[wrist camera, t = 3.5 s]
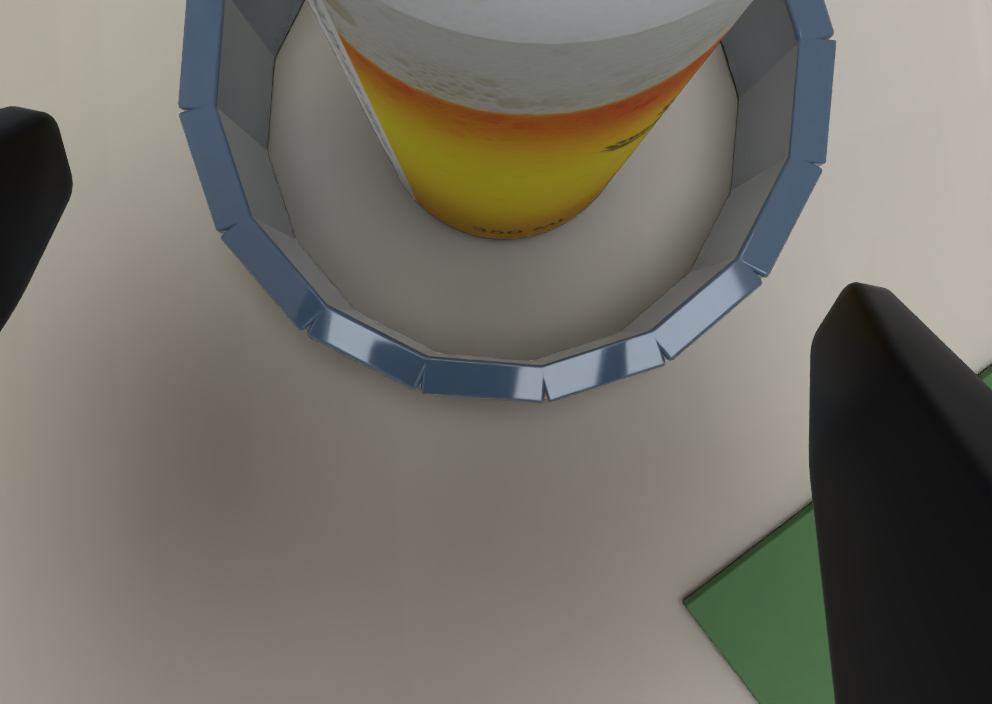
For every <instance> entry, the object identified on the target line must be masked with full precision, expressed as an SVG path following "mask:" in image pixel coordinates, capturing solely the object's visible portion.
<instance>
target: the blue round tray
mask: <svg viewBox="0 0 992 704" xmlns="http://www.w3.org/2000/svg"><path fill="white" fill-rule="evenodd" d="M303 1H304V0H186V12H185V25H184V38H183V51H182V64H181V77H180V90H179V103H178V105H179V108H180V109H182V110H183V111H184V112H182V113H180V114H179V117H180V120H181V124H182V127H183V130H184V133H185V136H186V139H187V142H188V145H189V148H190V151H191V154H192V157H193V160H194V163H195V166H196V169H197V173H198V176H199V179H200V182H201V185H202V188H203V191H204V194H205V197H206V200H207V203H208V206H209V209H210V212H211V215H212V218H213V221H214V225H215V228H216V230H217V231H218V232H220V233H222V234H223V235H222V236H221V239H222V241H223V242H224V243H225V244H226V245H227V246H228V248H229V249H230V250H231V251H232V252H233V254H234V255H235V256H236V257H237V258H238V259H239V261H240V262H241V263H242V264H243V265H244V266H245V268H246V269H247V270H248V271H249V272H250V273H251V275H252V276H253V277H254V278H255V279H256V280H257V282H258V283H259V284H260V285H261V286H262V287H263V289H264V290H265V291H266V292H267V293H268V294H269V296H270V297H271V298H272V299H273V300H274V301H275V303H276V304H277V305H278V306H279V307H280V309H281V310H282V311H283V312H284V313H285V314H286V316H287V317H288V318H289V319H290V320H291V321H292V323H293V324H294V325H295V326H296V327H297V328H298V330H300V331H307V335H308V337H309V338H311V339H313V340H315V341H317V342H319V343H321V344H323V345H325V346H327V347H329V348H331V349H333V350H335V351H337V352H338V353H340V354H342V355H344V356H346V357H348V358H350V359H352V360H354V361H356V362H358V363H360V364H362V365H364V366H366V367H368V368H370V369H372V370H374V371H376V372H378V373H380V374H382V375H383V376H385V377H387V378H389V379H391V380H393V381H395V382H397V383H399V384H401V385H403V386H405V387H407V388H409V389H411V390H416V389H418V388H419V387H420V386H421V392H422V393H424V394H434V395H447V396H459V397H471V398H484V399H496V400H508V401H521V402H533V403H542V402H543V401H544V397H545V398H546V399H547V400H548V401H549V402H553V401H556V400H559V399H562V398H565V397H568V396H571V395H575V394H578V393H581V392H584V391H587V390H590V389H593V388H596V387H599V386H602V385H606V384H609V383H612V382H615V381H618V380H621V379H624V378H627V377H630V376H633V375H637V374H640V373H643V372H646V371H649V370H652V369H655V368H658V367H661V366H664V365H665V360H667V361H671V360H674V359H675V358H676V357H677V356H678V355H680V354H681V353H682V352H683V351H684V350H685V349H687V348H688V347H689V346H690V345H691V344H693V343H694V342H695V341H696V340H697V339H698V338H700V337H701V336H702V335H703V334H704V333H705V332H707V331H708V330H709V329H710V328H711V327H713V326H714V325H715V324H716V323H717V322H718V321H720V320H721V319H722V318H723V317H724V316H725V315H727V314H728V313H729V312H730V311H731V310H733V309H734V308H735V307H736V306H737V305H738V304H740V303H741V302H742V301H743V300H744V299H745V298H747V297H748V296H749V295H750V294H751V293H753V292H754V291H755V290H756V289H757V288H758V287H760V286H761V284H762V280H761V278H766V277H767V276H769V274H770V272H771V270H772V268H773V266H774V264H775V262H776V261H777V259H778V257H779V255H780V253H781V251H782V249H783V247H784V245H785V243H786V241H787V239H788V237H789V235H790V233H791V231H792V229H793V228H794V226H795V224H796V222H797V220H798V218H799V216H800V214H801V212H802V210H803V208H804V206H805V204H806V202H807V200H808V198H809V196H810V195H811V193H812V191H813V189H814V187H815V185H816V183H817V181H818V179H819V177H820V175H821V173H822V169H821V168H820V167H819V166H821V165H823V164H825V162H826V154H827V142H828V131H829V119H830V108H831V96H832V85H833V73H834V61H835V50H836V41H835V40H829V39H830V38H831V37H832V36H833V34H834V31H833V27H832V24H831V21H830V18H829V15H828V11H827V8H826V5H825V2H824V0H753V1H752V2H751V3H750V5H749V6H748V7H747V9H746V10H745V11H744V12H743V14H742V15H741V16H740V17H739V19H738V20H737V21H736V22H735V24H734V25H733V26H732V27H731V29H730V30H729V31H728V32H727V34H726V35H725V36H724V38H723V39H722V40H721V41H722V44H723V47H724V50H725V54H726V57H727V60H728V63H729V66H730V70H731V73H732V76H733V79H734V82H735V85H736V89H737V92H738V95H739V103H738V115H737V126H736V138H735V150H734V162H733V173H732V185H731V192H730V194H729V196H728V198H727V200H726V202H725V204H724V206H723V208H722V210H721V212H720V214H719V216H718V218H717V220H716V222H715V224H714V225H713V227H712V229H711V231H710V233H709V235H708V237H707V239H706V241H705V243H704V245H703V247H702V249H701V251H700V253H699V255H698V257H697V259H696V260H695V262H694V264H693V266H692V268H691V270H690V272H689V273H688V274H687V275H686V276H685V277H684V278H682V279H681V280H680V281H679V282H678V283H676V284H675V285H674V286H673V287H672V288H671V289H669V290H668V291H667V292H666V293H665V294H664V295H662V296H661V297H660V298H659V299H658V300H656V301H655V302H654V303H653V304H652V305H651V306H649V307H648V308H647V309H646V310H645V311H644V312H642V313H641V314H640V315H639V316H638V317H636V318H635V319H634V320H633V321H632V322H631V323H629V324H628V325H627V326H626V327H625V328H623V329H622V330H621V331H620V332H618V333H615V334H612V335H609V336H606V337H603V338H600V339H597V340H594V341H590V342H587V343H584V344H581V345H578V346H575V347H572V348H569V349H566V350H563V351H559V352H556V353H553V354H550V355H547V356H544V357H541V358H538V359H535V360H531V361H530V360H517V359H505V358H493V357H481V356H468V355H456V354H444V353H438V352H436V351H434V350H432V349H430V348H428V347H426V346H424V345H422V344H420V343H418V342H416V341H414V340H412V339H410V338H408V337H406V336H405V335H403V334H401V333H399V332H397V331H395V330H393V329H391V328H389V327H387V326H385V325H383V324H381V323H379V322H377V321H375V320H373V319H371V318H369V317H367V316H365V315H364V314H362V313H360V312H358V311H356V310H355V309H354V307H353V306H352V305H351V304H350V303H349V301H348V300H347V299H346V298H345V297H344V296H343V294H342V293H341V292H340V291H339V290H338V289H337V287H336V286H335V285H334V284H333V283H332V282H331V280H330V279H329V278H328V277H327V276H326V274H325V273H324V272H323V271H322V270H321V269H320V267H319V266H318V265H317V264H316V263H315V262H314V260H313V259H312V258H311V257H310V256H309V255H308V253H307V252H306V251H305V250H304V249H303V247H302V246H301V245H300V244H299V243H298V242H297V240H296V238H295V235H294V232H293V229H292V226H291V223H290V220H289V217H288V214H287V211H286V208H285V205H284V201H283V198H282V195H281V192H280V189H279V186H278V183H277V180H276V177H275V174H274V171H273V168H272V165H271V161H270V158H269V155H268V152H267V144H268V131H269V118H270V106H271V93H272V80H273V67H274V58H275V56H276V54H277V52H278V50H279V48H280V46H281V44H282V42H283V40H284V38H285V36H286V34H287V32H288V30H289V28H290V26H291V24H292V22H293V20H294V18H295V16H296V15H297V13H298V11H299V9H300V7H301V5H302V3H303Z"/></svg>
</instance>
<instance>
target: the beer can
mask: <svg viewBox="0 0 992 704" xmlns="http://www.w3.org/2000/svg"><path fill="white" fill-rule="evenodd" d="M307 1H308V3H309V5H310V7H311V9H312V11H313V13H314V15H315V17H316V19H317V21H318V22H319V24H320V26H321V28H322V30H323V32H324V34H325V36H326V38H327V40H328V42H329V44H330V46H331V48H332V50H333V51H334V53H335V55H336V57H337V59H338V61H339V63H340V65H341V67H342V69H343V71H344V73H345V75H346V77H347V79H348V81H349V82H350V84H351V86H352V88H353V90H354V92H355V94H356V96H357V98H358V100H359V102H360V104H361V106H362V108H363V110H364V112H365V113H366V115H367V117H368V119H369V121H370V123H371V125H372V127H373V129H374V131H375V133H376V135H377V137H378V139H379V141H380V142H381V144H382V146H383V148H384V150H385V152H386V154H387V156H388V158H389V160H390V162H391V164H392V166H393V168H394V170H395V171H396V173H397V175H398V177H399V179H400V181H401V182H402V183H403V185H404V186H405V188H406V189H407V191H408V192H409V193H410V194H411V195H412V197H413V198H414V199H415V200H416V201H417V202H418V203H419V204H420V205H421V206H422V207H423V208H424V209H425V210H427V211H428V212H429V213H430V214H432V215H433V216H435V217H436V218H437V219H439V220H440V221H442V222H444V223H446V224H448V225H449V226H451V227H453V228H456V229H458V230H461V231H463V232H466V233H469V234H473V235H476V236H481V237H487V238H493V239H514V238H524V237H529V236H534V235H538V234H541V233H544V232H547V231H550V230H552V229H554V228H556V227H559V226H561V225H563V224H564V223H566V222H568V221H569V220H571V219H573V218H574V217H576V216H577V215H578V214H579V213H581V212H582V211H583V210H585V209H586V208H587V207H588V206H589V205H590V204H591V203H592V202H593V201H594V200H595V199H596V198H597V197H598V195H599V194H600V193H601V192H602V190H603V189H604V188H605V187H606V185H607V184H608V183H609V181H610V180H611V179H612V178H613V176H614V175H615V174H616V173H617V171H618V170H619V169H620V168H621V166H622V165H623V164H624V163H625V161H626V160H627V159H628V157H629V156H630V155H631V154H632V152H633V151H634V150H635V149H636V147H637V146H638V145H639V144H640V142H641V141H642V140H643V139H644V137H645V136H646V135H647V133H648V132H649V131H650V130H651V128H652V127H653V126H654V125H655V123H656V122H657V121H658V120H659V118H660V117H661V116H662V115H663V113H664V112H665V111H666V110H667V108H668V107H669V106H670V104H671V103H672V102H673V101H674V99H675V98H676V97H677V96H678V94H679V93H680V92H681V91H682V89H683V88H684V87H685V86H686V84H687V83H688V82H689V80H690V79H691V78H692V77H693V75H694V74H695V73H696V72H697V70H698V69H699V68H700V67H701V65H702V64H703V63H704V62H705V60H706V59H707V58H708V56H709V55H710V54H711V53H712V51H713V50H714V49H715V48H716V46H717V45H718V44H719V43H720V41H721V40H722V39H723V38H724V36H725V35H726V34H727V32H728V31H729V30H730V29H731V27H732V26H733V25H734V24H735V22H736V21H737V20H738V19H739V17H740V16H741V15H742V14H743V12H744V11H745V10H746V9H747V7H748V6H749V5H750V3H751V2H752V1H753V0H307Z"/></svg>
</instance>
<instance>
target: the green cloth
mask: <svg viewBox="0 0 992 704" xmlns="http://www.w3.org/2000/svg"><path fill="white" fill-rule="evenodd" d="M978 377H979V378H980V379H981V380H982V381H983V382H985V383H986V384H987V385H988V386H989V387H990V388H991V389H992V365H991V366H990V367H989V368H987V369H986V370H985V371H984V372H982V373H981V374H980V375H978ZM683 604H684V605H685V606H686V608H687V609H688V610H689V612H690V613H691V614H692V616H693V617H694V618H695V619H696V621H697V622H698V623H699V625H700V626H701V627H702V629H703V630H704V631H705V633H706V634H707V635H708V637H709V638H710V639H711V640H712V642H713V643H714V644H715V646H716V647H717V648H718V650H719V651H720V652H721V654H722V655H723V656H724V658H725V659H726V660H727V661H728V663H729V664H730V665H731V667H732V668H733V669H734V671H735V672H736V673H737V675H738V676H739V677H740V679H741V680H742V681H743V682H744V684H745V685H746V686H747V688H748V689H749V690H750V692H751V693H752V694H753V696H754V697H755V698H756V699H757V701H758V702H759V703H760V704H835V698H834V689H833V680H832V671H831V662H830V653H829V644H828V635H827V626H826V617H825V608H824V599H823V590H822V581H821V572H820V562H819V553H818V544H817V535H816V526H815V517H814V508H813V502H812V503H811V504H810V505H808V506H807V507H806V508H804V509H803V510H802V511H800V512H799V513H798V514H796V515H795V516H794V517H793V518H791V519H790V520H789V521H787V522H786V523H785V524H783V525H782V526H781V527H779V528H778V529H777V530H776V531H774V532H773V533H772V534H770V535H769V536H768V537H766V538H765V539H764V540H762V541H761V542H760V543H759V544H757V545H756V546H755V547H753V548H752V549H751V550H749V551H748V552H747V553H745V554H744V555H743V556H742V557H740V558H739V559H738V560H736V561H735V562H734V563H732V564H731V565H730V566H728V567H727V568H726V569H725V570H723V571H722V572H721V573H719V574H718V575H717V576H715V577H714V578H713V579H711V580H710V581H709V582H708V583H706V584H705V585H704V586H702V587H701V588H700V589H698V590H697V591H696V592H694V593H693V594H692V595H691V596H689V597H688V598H687V599H685V600H684V601H683Z"/></svg>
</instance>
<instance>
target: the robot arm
mask: <svg viewBox="0 0 992 704" xmlns="http://www.w3.org/2000/svg"><path fill="white" fill-rule="evenodd" d="M72 186H73V182H72V174H71V170H70V167H69V163H68V159H67V156H66V152H65V148H64V145H63V141H62V137H61V134H60V130H59V127H58V124H57V122H56V121H55V119H54V118H53V117H52V116H50V115H49V114H48V113H45V112H40V111H36V110H31V109H26V108H21V107H16V106H10V107H5V108H2V109H0V331H1V330H2V328H3V327H4V325H5V324H6V322H7V320H8V319H9V317H10V316H11V314H12V312H13V311H14V309H15V307H16V306H17V304H18V302H19V301H20V299H21V297H22V295H23V293H24V291H25V289H26V288H27V286H28V284H29V282H30V280H31V278H32V276H33V273H34V271H35V269H36V267H37V265H38V263H39V261H40V259H41V257H42V255H43V253H44V251H45V249H46V247H47V245H48V243H49V240H50V238H51V236H52V234H53V232H54V230H55V228H56V226H57V224H58V222H59V220H60V218H61V216H62V214H63V212H64V210H65V208H66V205H67V203H68V201H69V199H70V196H71V193H72ZM809 468H810V481H811V490H812V499H813V508H814V517H815V526H816V535H817V544H818V553H819V562H820V572H821V581H822V590H823V599H824V608H825V617H826V626H827V635H828V644H829V653H830V662H831V671H832V680H833V689H834V698H835V704H992V389H991V388H990V387H989V386H988V385H987V384H986V383H985V382H983V381H982V380H981V379H980V378H979V377H978V376H977V375H976V374H975V373H974V372H973V371H972V370H971V369H970V368H969V367H968V366H967V365H966V364H965V363H964V362H963V361H962V360H961V359H960V358H959V357H958V356H957V355H956V354H955V353H954V352H953V351H952V350H951V349H950V348H949V347H947V346H946V345H945V344H944V343H943V342H942V341H941V340H940V339H939V338H938V337H937V336H936V335H935V334H934V333H933V332H932V331H931V330H930V329H929V328H928V327H927V326H926V325H925V324H924V323H923V322H922V321H921V320H920V319H919V318H918V317H917V316H916V315H915V314H914V313H913V312H911V311H910V310H909V309H908V308H907V307H906V306H905V305H904V304H903V303H902V302H901V301H900V300H899V299H898V298H897V297H896V296H895V295H894V294H893V293H892V292H891V291H890V290H888V289H886V288H882V287H877V286H873V285H868V284H863V283H858V282H854V283H851V284H848V285H847V286H846V287H845V288H844V289H843V290H842V292H841V293H840V295H839V296H838V298H837V299H836V301H835V303H834V304H833V306H832V307H831V309H830V311H829V312H828V314H827V315H826V317H825V318H824V320H823V322H822V323H821V325H820V326H819V328H818V330H817V331H816V333H815V336H814V338H813V341H812V345H811V353H810V409H809Z"/></svg>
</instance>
